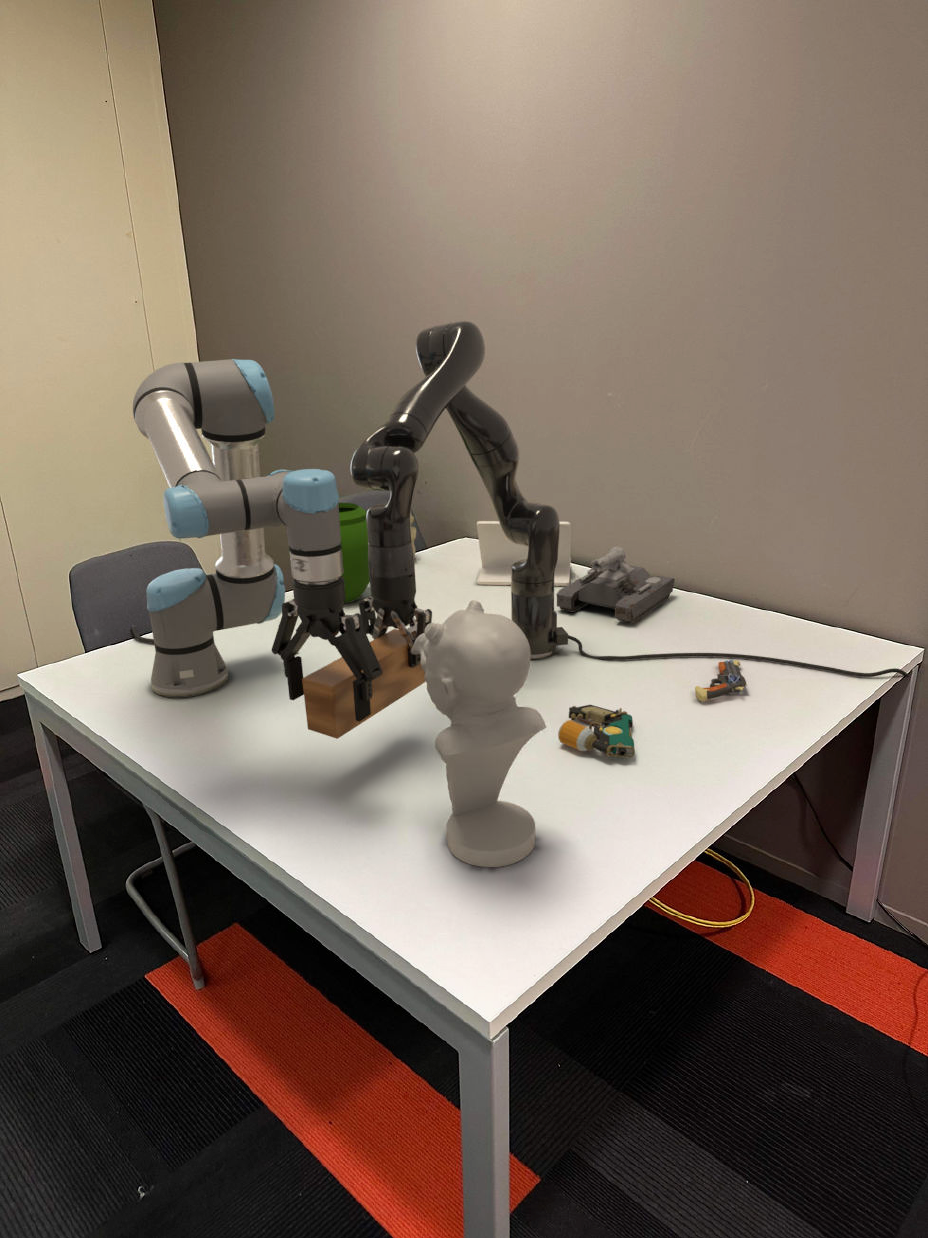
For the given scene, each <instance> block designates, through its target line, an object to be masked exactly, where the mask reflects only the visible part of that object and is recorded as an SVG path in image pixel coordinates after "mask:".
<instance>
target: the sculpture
mask: <svg viewBox="0 0 928 1238" xmlns="http://www.w3.org/2000/svg"><path fill="white" fill-rule="evenodd" d="M414 522H415V517H414V516H413V515H412V514H411V515H410V523H411V524H410V525H411V539H412V547H413V552H414V559H415V558H416V546H415V540H416V537H417V528H416V527H415V526H412V524H413V523H414Z"/></svg>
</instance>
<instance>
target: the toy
mask: <svg viewBox="0 0 928 1238" xmlns="http://www.w3.org/2000/svg"><path fill="white" fill-rule="evenodd" d="M626 557H627V556H626V551H625V549H624V548H622V547H621V546H614V547H612V548H611V549H610V550H609V552H608V553H607V554H605V555H604V556H601V557H599V558H598V559H597V557H596V558H594V559H593V560H592V561H590V562H589V563H590V564H591V565H592V567H591V568H590V569H589V570H587V573H586V575H584V576H582V577H580V578H578V579H577V580H575V581H573V582H570V583H569V585H567V586H563V587H562V588H560V589H559V590H558V591H557V592H556V607H558V608H559V609H560V610H562V611H566V612H572V613H575V612H577V611H579V610H581V609H582V608H585V607H586V606H588V605H592V606H598V607H602V608H603V607H604V608H609V609H613V610H614V618H615V619H617V620H618V621H621V622H626V623H631V624H634V623H635V622H637V621H638V620H640V619H641V618H642V617H644V616H645V615H647V614H648V613H650V612H651V611H652V610H654V609H655V608H657V607H659V606H660V605H661V604H663V603H664V602H666V601H667V600H669V598H670V596H671V594H672V593H673V591H674V585H675V580H676V579H675V578H673V577H668V576H663V575H656V576H655V577H654V576H651V574H650V573H649V572H648V571H647V570H646V568H644V567H641V566H635V565H629V564H628V563H627V562H626V561H625V559H626Z"/></svg>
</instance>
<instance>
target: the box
mask: <svg viewBox="0 0 928 1238" xmlns="http://www.w3.org/2000/svg"><path fill="white" fill-rule="evenodd" d="M411 636H412V634H411ZM412 638H413V636H412ZM413 639H414V638H413ZM369 642H370V644H371V646H372V648H373V651H374V653H375V655H376V657H377V660H378V662H379V664H380V667H381V669H382V671H383V674H382V675H381V676H379V677H377V678H376V679H374V680H372V692H373V696H372V698H371V699H370V708H371V715H369V716H368V717H366V718H365V719H363V720H362V721H360V722H359V721H356V718H355V705H354V692H353V681H354V680H356V677H355V676H354V674H353V673H352V671H351V670H350V668H349V667H348V665H347V664H346V662H345V661H344V659H343V658H342V656H341V657H340V658H337V659H336V660H334V661H332V662H330V663H328V664H327V665H323V666H322V667H321V668H318V669H317V670H315V671H313V672H311V673H310V674H307V675H306V676H303V678H302V682H303V691H304V695H303V698H304V706H305V715H306V725H307V730H309V731H312V732H314V733H318V734H321V735H324V736H327V737H330V738H333V739H336V740H338V739H340V738H341V737H343V736H344V735H346V734H347V733H349V732H350V731H352V730H354V729H355V728H357V727H358V726H360V725H361V724H363V723H364V722H366V721H368V720H369V719H370V718H372V717H374V716H375V715H376V714H378V713H380V712H382V710H385V709H387V708H388V707H389V706H391V705H392V704H394V703H395V702H397V701H398V700H400V699H401V698H403V697H404V696H406V695H408V694H409V693H411V692H412V691H414V690H415V689H417V688H419V687H420V686H422V685H423V684H425V683H426V681H425V671H424V670H423V669H422V667H421V662H420V663H419V665H417V666H416V667H414V668H411V667H409V663H408V647H409V646H408V644H407V642H406V640H405V638H404V636H401V634H400V632H399V629H396V628H393V629H391V630H390V631H387V632H386V634H384V635H382V636H380V637H378V638H376V639H375V640H374V639H372V640H371V641H369ZM361 672H362V673H363V670H361Z"/></svg>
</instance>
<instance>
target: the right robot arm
mask: <svg viewBox="0 0 928 1238" xmlns="http://www.w3.org/2000/svg"><path fill="white" fill-rule="evenodd" d="M415 351H416V353H415V354H416V357H417V361H418V364H419V366H420V369H421V370H422V372H423V374H424V376H425V377H424V378H423V379H422V380H420V381H419V382H418V383H417V384H415V385H414V386H413V387H411V388H410V389H408V391H406V393H405V394H404V395H402V397H401V398H400V399H399V400H398V402H397V403H396V405H395V406H394V408H393V409H392V411H391V413H390V415H389V416H388V418H387V419H386V422H385V423H383V424H382V425H381V426H379V427H378V428H377V429H375V431H374V432H372V433H371V434H370V435H369V436H368V437H367V438H366V439H364V440H363V441H362V442H361V443H360V444H359V445H358V447H357V448H356V449H355V451H354V453H353V455H352V458H351V461H350V475H351V478H352V480H353V482H354V483H355V485H356V486H357V487H359V488H361V489H363V490H368V491H382V492H383V491H384V492H390V496H389V500H388V502H383V503H378V504H374V505H372V506H370V507H369V508H368V509H367V510H366V511H367V515H366V521H367V533H368V566H369V579H370V582H369V590H370V596H368V597H366V598H364V599H361V600H359V601H358V602H357V603H358V610H359V614H360V615H361V616H362V622H363V628H364V630H365V633H366V635H370V636H371V638H372V640H375V639H376V638H378V637H380V636H382V635H384V634H386V633H388V630H389V628H390V627H392V628H393V629H397V630H399V632H400V634H401V636H404V638H405V640H406V642H407V644H408V646H409V647H408V663H409V667H411V668H414V667H416V666H417V665H419V663H420V662H421V654H412V653H411V649H412V647H413V645H414V642H415V640H416V639H417V637H418V636H419V635H421V634H423V633H425V628H426V626H427V625H428V624H430V623H433V622H432V621H433V611H432V609H430V608H427V609H421V608H419V607H418V606H417V604H416V601H415V598H416V594H417V582H416V581H417V580H416V567H415V566H416V565H415V564H416V563H415V558H414V552H413V547H412V539H411V526H412V523H410V515H412V508H413V501H414V495H415V491H416V486H417V483H418V479H419V472H420V471H419V470H420V469H419V466H420V465H419V461H418V458H417V456H416V454H417V453H418V452H420V450H421V449H422V448H423V446H424V444H425V443H426V441H427V439H428V438H429V435H430V434H431V432H432V430H433V429H434V428H435V427H434V426H435V425H436V423H437V422H438V420H439V418H440V417H441V416H442V414H443V412H444V411H445V410H446V411H447V413H448V415H449V417H450V418H451V420H452V422H453V424H454V426H455V429H456V430H457V432H458V433H459V435H460V437H461V440H462V442H463V444H464V447H465V449H466V451H467V453H468V456H469V457H470V459H471V461H472V463H473V465H474V466H475V469H476V470H477V472H478V474H479V476H480V478H481V480H482V482H483V485H484V487H485V489H486V491H487V493H488V495H489V498H490V500H491V503H492V505H493V508H494V511H495V514H496V516H497V520H498V521H499V522H500V525H501V528H502V530H503V532H504V534H505V536H506V537H507V538H508V539H509V540H510V541H512V542H513V543H516V544H519V545H524V546H528V557H527V559H522V560H519V561H516V562H515V563H513V564H512V567H511V585H510V588H511V589H510V597H511V599H510V603H511V604H510V606H511V607H510V609H511V610H510V615H511V617H510V619H511V620H512V621H513V622H514V623H515V624H516V625H517V626H518V627H519V628H520V629H521V630H522V632H523V633H524V634H525V636H526V638H527V640H528V643H529V646H530V652H531V653H530V655H531V656H530V660H540V659H545V658H548V657H550V656H552V655H557V654H558V653H557V650H558V649H557V648H558V647H557V646H569V640H570V641H573V642H575V643H576V644H577V645H578V652H579V654H580V655H582V657H585V658H589V659H593V660H600V661H606V660H607V661H608V660H609V661H629V660H639V659H658V658H659V659H660V658H677V657H678V658H680V657H681V658H683V657H684V658H685V657H686V658H689V657H710V658H713V657H714V658H715V657H716V658H736V659H747V660H756V661H763V662H764V661H766V662H771V663H779V664H786V665H792V666H799V667H803V668H810V669H816V670H821V671H827V672H833V673H837V674H843V675H847V676H853V677H862V678H873V677H880V676H882V675H886V674H892V673H897V674H900V675H902V676H903V677H905V678H910V675H909V674H908V673H907V672H906V671H905V670H902V669H900V668H896V667H895V668H888V669H883V670H880V671H875V672H860V671H859V672H857V671H851V670H847V669H841V668H836V667H831V666H826V665H820V664H814V663H808V662H801V661H796V660H795V661H794V660H789V659H783V658H778V657H777V658H776V657H770V656H769V657H768V656H767V657H766V656H761V655H752V654H739V653H724V652H671V653H669V652H667V653H649V654H648V653H647V654H636V655H623V656H622V655H598V656H597V655H591V654H589V653H586V652H585V651H584V650H583V644H582V641H580V639H578V638H577V637H574V636H571V635H569V633H568V632H567V631H566V630H565V629H564V628H563V626H558V613H557V612H556V611H555V586H554V572H555V568H556V564H557V560H558V546H559V532H560V522H561V521H560V517H559V514H558V511H557V510H556V508H555V507H553V506H552V505H549V504H545V503H539V502H533V501H529V500H527V499H526V498H525V497H524V496H523V493H522V491H521V490H520V487H519V485H518V482H517V479H516V477H517V471H518V466H519V461H520V450H519V446H518V444H517V441H516V439H515V436H514V434H513V431H512V429H511V427H510V425H509V423H508V422H507V420H506V419H505V418H504V417H503V415H502V414H500V412H498V410H496V409H495V408H494V407H492V406H491V405H490V404H488V403H487V402H486V401H484V400H483V399H481V398H480V397H479V396H478V395H476V394H475V393H474V392H473V391H472V390H471V389H470V388H469V387H468V386H467V384H468V383H469V382H470V380H471V379H472V378H473V377H474V376H475V375H476V373H477V372H478V371H479V370H480V368H481V367H482V365H483V362H484V359H485V354H486V344H485V339H484V336H483V334H482V332H481V330H480V328H479V327H478V325H477V324H475V323H474V322H472V321H470V320H469V321H468V320H458V321H453V322H448V323H444V324H439V325H438V324H437V325H434V326H430V327H427V328H424V329H422V330H421V331H419V333H418V334H417V336H416V339H415ZM410 524H411V525H410ZM376 614H377V615H376ZM408 626H409V627H408ZM407 627H408V628H407ZM411 634H412V636H413V638H414V639H413V638H412V636H411Z"/></svg>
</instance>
